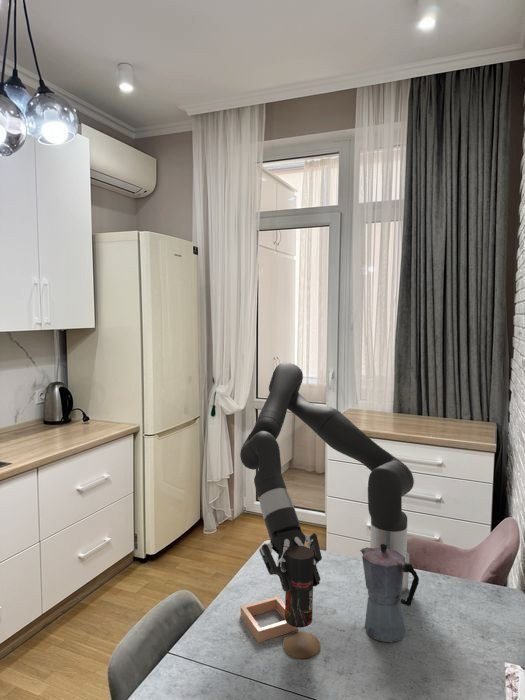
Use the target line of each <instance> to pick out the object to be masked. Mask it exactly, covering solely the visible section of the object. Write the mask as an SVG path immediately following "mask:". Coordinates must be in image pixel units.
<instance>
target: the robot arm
mask: <svg viewBox="0 0 525 700" xmlns="http://www.w3.org/2000/svg"><path fill="white" fill-rule="evenodd" d="M303 379H304V374H303V371H302V369H301V368H300V367H299V366H298V365H297V364H295V363H291V362H285V361H284V362H281V363H279V364H278V365H277V366H276V367H275V369H274V370H273V373H272V376H271V379H270V381H269V385H268V392H269V393H268V396H267V397H266V400H265V402H264V405H263V406H262V408H261V410H260V413H259V414H258V416H257V419H256V421H255V424H254V427H253V429H252V430H251V432H250V433H249V435H248V436H247V438H245V441H244V443H243V444H242V446H241V449H240V452H239V457H240V460H241V463H242V464H243V466H244V467H245V468H247V469H249V470H257V472H256V474H255V475H254V477H253V481H254V482H253V483H254V487H255V490H256V494H257V497H258V500H259V506H260V510H261V511H260V512H261V513H262V518H263V520H264V521H263V522H264V525H265V527H266V531H267V534H268V536H269V539H270V540H269V541H270V542H269V543H263V545H262V546H261V547H260V548H259V553H260V555H261V558H262V560H263V563H264V565H265V567H266V569H267V572H268V574H269V575H271V576H273V575H276V576H278V578H279V581H280V584H281V587H282V590H283V591H284V592H286V593H287V594H288V593H291V592H292V591H293V588H292V585H291V581H290V578H289V575H288V572H287V573H286V551H287V549H288V548H289V547H292V546H298V545H299V546H305V544H306V545H307V546H308V547H309V548H311V549H312V550H313V551H314V573H313V587H318V585H320V581H321V576H320V573H319V570H318V568H317V564H318V563H319V562H320V561H321V560H322V559H323V557H322V552H321V548H320V544H319V539H318V535H317V534H316V533H312V534H311V535H307V534H306V535H305V533H304V532H303V531H302V528H301V523H300V520H299V518H298V514H297V512H296V509H295V505H294V503H293V501H292V498H291V496H290V494H289V492H288V488H287V487H286V484H285V480H284V478H283V473H282V461H281V451H280V446H279V443H278V441H277V439H278V437H279V436H280V434H281V431H282V428H283V426H284V421H285V419H286V415H287V411H289V412H290V413H292V414H294V416H296V417H298V418H299V419H300V421H302V422H303V423H305V425H307V426H308V427H309V429H311V430H312V431H313V432H314V433H315V434H316V435H317V436H318V437H320V438H321V440H322V441H323V442H325V443H326V444H327V445H328V446H329V447H330V448H332V449H333V450H334V451H336V452H338V453H340V454H342V455H345V456H346V457H349V458H351V459H353V460H356V461H357V462H359V463H361V464H362V465H363V466H365V467H366V468H367V469H369V471H370V473H369V476H368V481H367V505H368V507H367V509H368V514H369V516H370V542H369V544H370V545H369V548H379V547H380V545H381V544H385V545H387V549H391V550H396V551H397V552H399V553H400V554H401V555H403V556H404V557H405V562H406V563H407V564H410V554H409V552H408V551H407V545H408V544H407V543H408V516H407V514H406V513H405V512H404V511H402V510H403V509H402V506H403V505H402V497H404V496H405V495H407V494H408V493H409V492H410V491H411V490H413V487H414V485H415V480H414V479H415V478H414V476H413V472H412V471H411V470H410V468H409V467H408V466H407V465H406V464H405V463H403V462H402V461H401V460H399V458H397V457H395V456H394V455H393V454H391V453H389V452H388V451H387V450H386V449H384V448H383V447H381V446H380V445H378V444H377V443H376V442H375V441H373V439H371V438H370V437H369V436H368V435H367V434H366V433H364V432H363V431H362V430H361V429H360V428H359V427H358V426H357V425H355V424H354V423H353V422H352V421H351V420H350V419H349V418H347V417H346V416H345V415H344V414H343V413H342V412H341V411H339V410H338V409H336V408H334V407H331V406H329V405H320V404H314V403H311V402H310V401H308V400H307V399H306V398H305V397H303V396H302V394H301V393H300V392H299V391H300V389H301V386H302V383H303ZM273 551H274V552H275V553H276V554H277V559H276V560H277V563H276V561H275V559H274V557H273V554H272V553H273ZM409 574H410V573H409V572H404V574H403V583H402V589H401V592H400V596H402V595H403V594H404V593H405V592H406V590H409Z"/></svg>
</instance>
